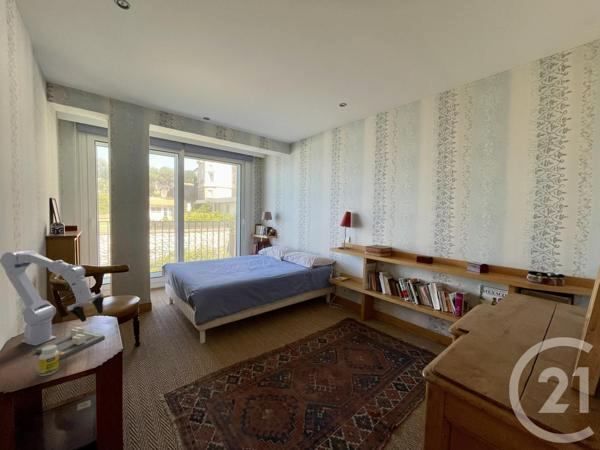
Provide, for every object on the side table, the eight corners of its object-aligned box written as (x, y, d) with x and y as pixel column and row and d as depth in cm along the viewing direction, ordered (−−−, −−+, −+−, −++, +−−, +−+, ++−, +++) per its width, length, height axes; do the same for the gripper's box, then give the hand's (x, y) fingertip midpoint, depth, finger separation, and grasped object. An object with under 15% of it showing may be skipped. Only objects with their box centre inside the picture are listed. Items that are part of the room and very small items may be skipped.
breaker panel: (36, 352, 107) (36, 348, 107) (81, 333, 125) (81, 330, 124) (61, 359, 103) (61, 355, 103) (104, 338, 121) (104, 335, 121)
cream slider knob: (70, 335, 118) (70, 328, 118) (77, 332, 121) (77, 326, 121) (76, 337, 117) (76, 330, 117) (83, 334, 120) (83, 327, 120)
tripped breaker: (71, 343, 112) (72, 336, 112) (79, 340, 115) (79, 333, 115) (78, 345, 111) (78, 337, 111) (85, 341, 114) (85, 334, 114)
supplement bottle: (45, 377, 92) (46, 352, 92) (34, 374, 93) (35, 349, 93) (62, 368, 98) (62, 344, 97) (51, 366, 99) (52, 342, 98)
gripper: (70, 295, 108) (81, 323, 109) (103, 283, 122) (113, 308, 123) (59, 299, 110) (71, 326, 111) (93, 286, 124) (103, 310, 125)
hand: (92, 317), depth 117 cm, fingers open, 7 cm apart
